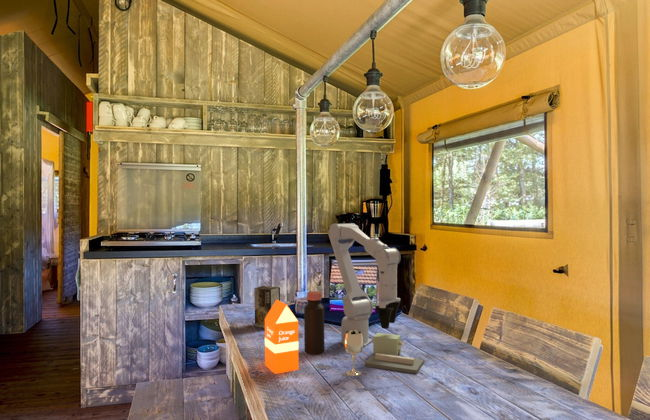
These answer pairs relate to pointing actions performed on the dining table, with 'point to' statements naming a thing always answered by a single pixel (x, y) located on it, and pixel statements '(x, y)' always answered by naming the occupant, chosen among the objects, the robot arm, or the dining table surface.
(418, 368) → the cleat board
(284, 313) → the orange juice
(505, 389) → the dining table surface
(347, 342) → the wineglass
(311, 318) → the bottle
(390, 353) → the cabinet block
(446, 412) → the dining table surface
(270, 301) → the coffee box
